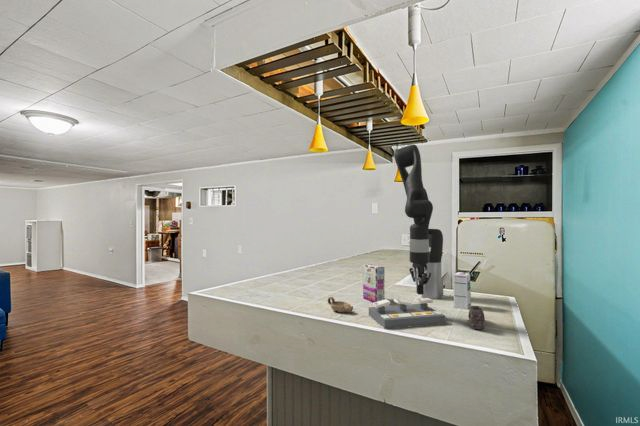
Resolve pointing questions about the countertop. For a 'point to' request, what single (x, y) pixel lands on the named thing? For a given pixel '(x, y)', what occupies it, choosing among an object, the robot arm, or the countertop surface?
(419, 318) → the switch console
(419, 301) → the rocker
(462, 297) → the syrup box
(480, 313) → the perforated stone tool
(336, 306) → the oil lamp
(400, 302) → the middle rocker
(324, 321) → the countertop surface
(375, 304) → the rocker
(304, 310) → the countertop surface
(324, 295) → the countertop surface
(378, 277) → the candy bar box
